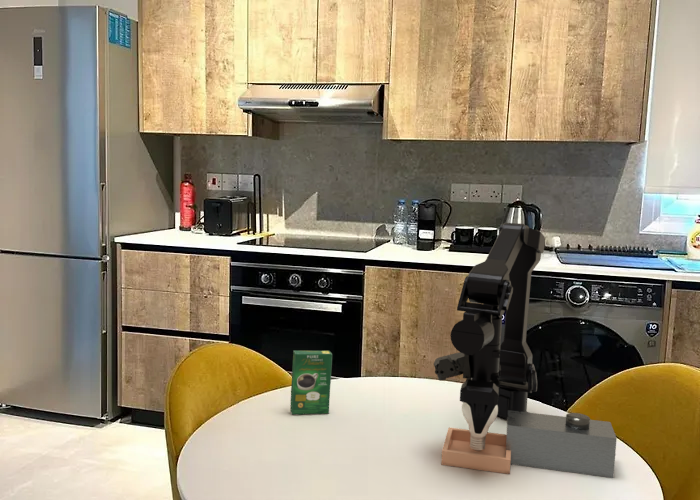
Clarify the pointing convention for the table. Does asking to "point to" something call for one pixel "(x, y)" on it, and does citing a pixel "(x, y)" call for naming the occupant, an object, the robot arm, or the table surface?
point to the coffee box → (311, 382)
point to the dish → (476, 452)
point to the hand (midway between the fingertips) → (478, 426)
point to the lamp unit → (561, 443)
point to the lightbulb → (476, 439)
